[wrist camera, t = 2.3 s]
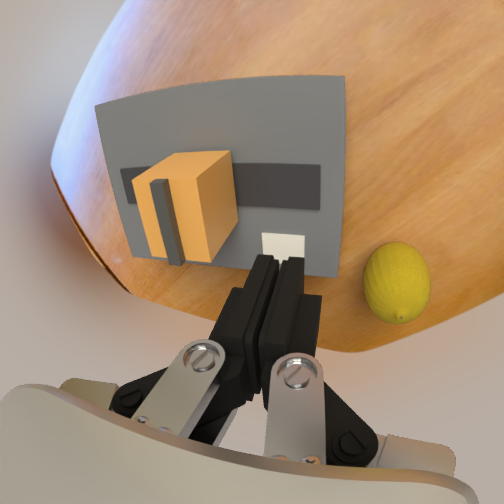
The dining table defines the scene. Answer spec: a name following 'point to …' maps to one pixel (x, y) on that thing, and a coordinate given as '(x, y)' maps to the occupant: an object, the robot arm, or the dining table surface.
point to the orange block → (187, 205)
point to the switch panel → (243, 160)
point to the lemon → (396, 283)
